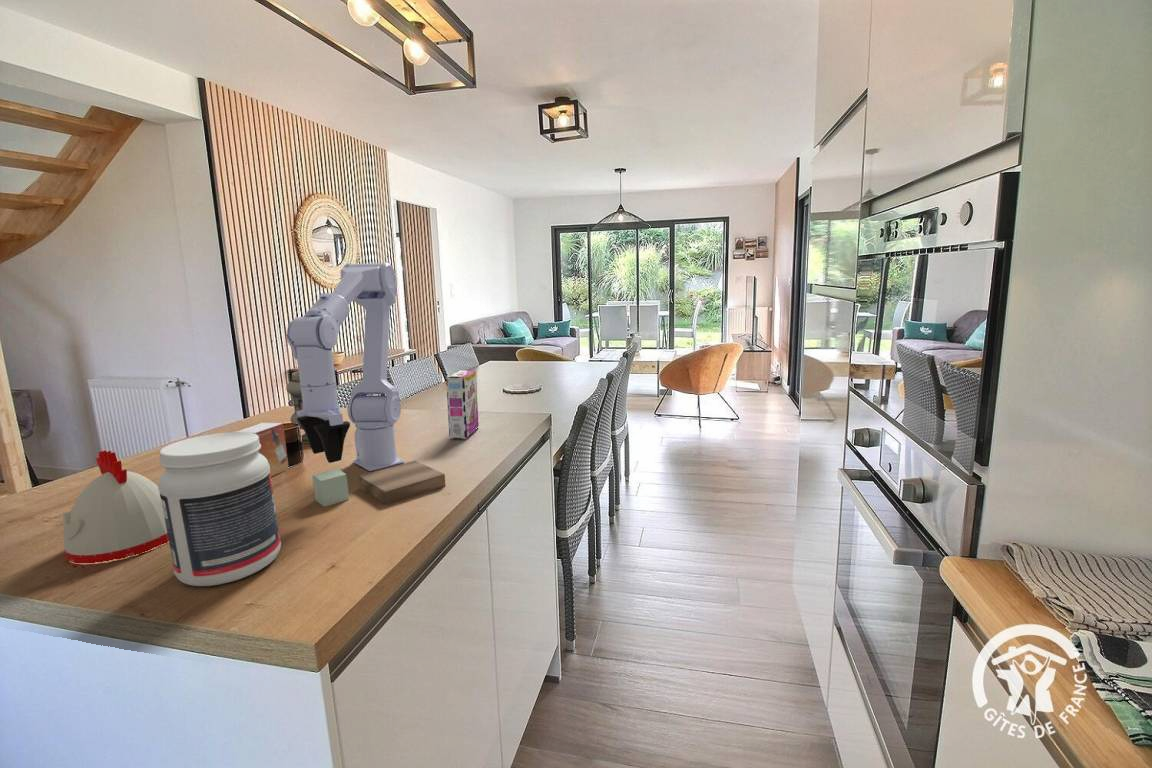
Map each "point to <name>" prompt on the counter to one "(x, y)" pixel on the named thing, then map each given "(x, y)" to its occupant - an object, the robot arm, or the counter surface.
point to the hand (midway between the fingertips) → (327, 456)
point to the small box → (271, 445)
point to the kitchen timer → (114, 516)
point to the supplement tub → (218, 508)
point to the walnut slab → (401, 481)
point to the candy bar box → (462, 404)
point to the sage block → (330, 487)
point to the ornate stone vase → (297, 400)
